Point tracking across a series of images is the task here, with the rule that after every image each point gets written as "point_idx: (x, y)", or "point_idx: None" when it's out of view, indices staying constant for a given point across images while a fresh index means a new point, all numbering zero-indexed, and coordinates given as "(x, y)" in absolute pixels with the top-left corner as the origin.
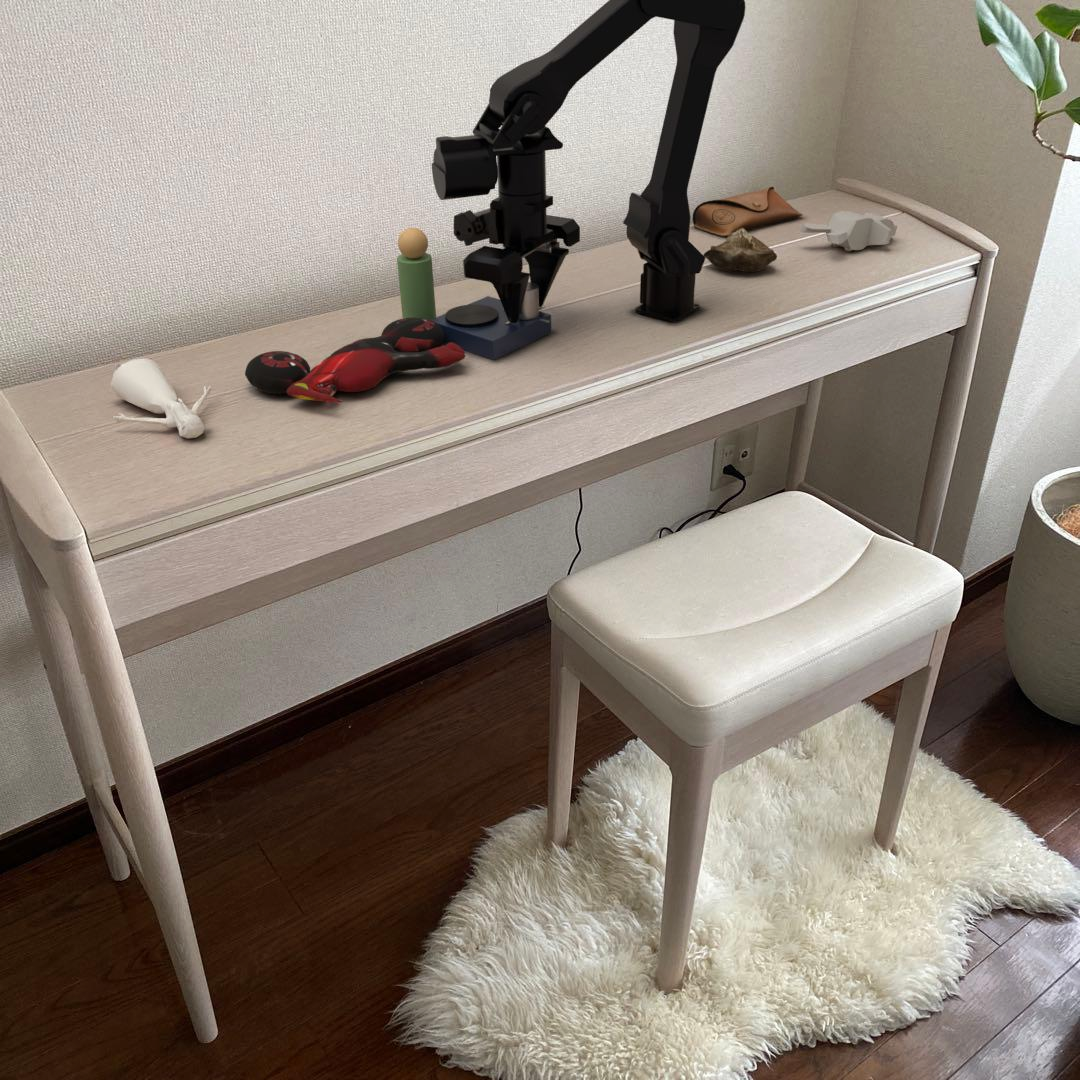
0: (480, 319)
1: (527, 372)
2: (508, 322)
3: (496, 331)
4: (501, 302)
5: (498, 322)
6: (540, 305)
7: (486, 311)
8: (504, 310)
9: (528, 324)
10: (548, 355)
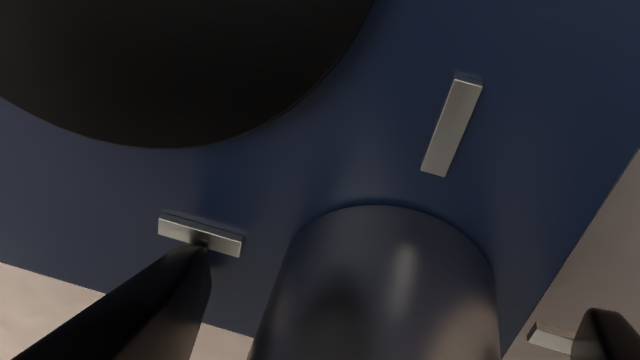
0: (35, 46)
1: (22, 318)
2: (185, 234)
3: (29, 205)
4: (31, 348)
5: (164, 158)
6: (574, 357)
7: (225, 5)
8: (101, 298)
9: (248, 334)
10: (207, 346)
